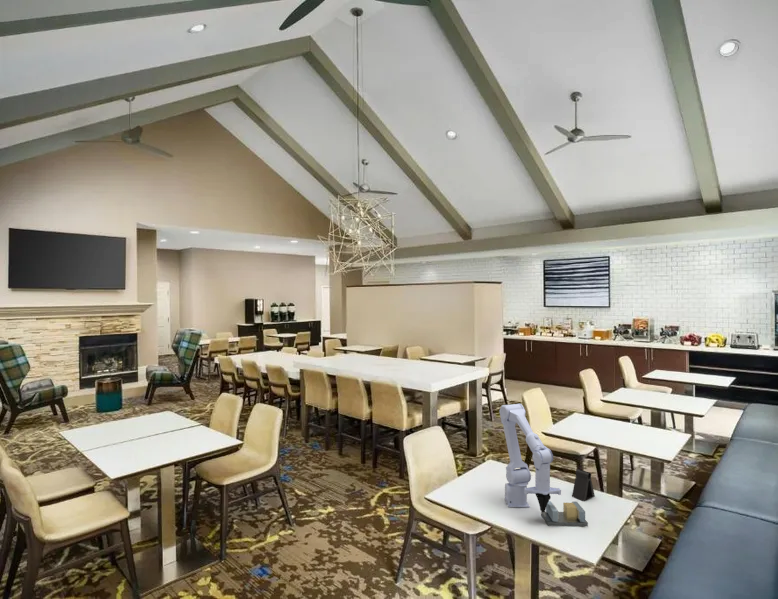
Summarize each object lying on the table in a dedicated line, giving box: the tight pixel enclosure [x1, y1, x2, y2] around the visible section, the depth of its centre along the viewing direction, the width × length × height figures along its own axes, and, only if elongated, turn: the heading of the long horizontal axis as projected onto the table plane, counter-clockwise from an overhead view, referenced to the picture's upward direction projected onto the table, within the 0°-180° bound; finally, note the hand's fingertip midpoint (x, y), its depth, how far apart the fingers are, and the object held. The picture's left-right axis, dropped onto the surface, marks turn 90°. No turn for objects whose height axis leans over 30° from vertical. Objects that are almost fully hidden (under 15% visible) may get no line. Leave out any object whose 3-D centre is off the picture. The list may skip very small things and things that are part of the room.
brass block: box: [562, 502, 577, 520], centre depth 189 cm, size 4×4×5 cm
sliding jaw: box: [545, 500, 560, 522], centre depth 189 cm, size 2×9×4 cm, turn 178°
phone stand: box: [571, 468, 596, 502], centre depth 211 cm, size 9×6×12 cm, turn 125°
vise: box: [540, 501, 589, 527], centre depth 189 cm, size 16×9×6 cm, turn 88°
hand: (542, 510), depth 189 cm, fingers closed
